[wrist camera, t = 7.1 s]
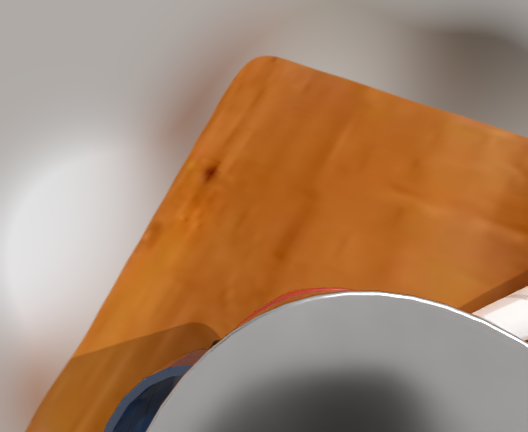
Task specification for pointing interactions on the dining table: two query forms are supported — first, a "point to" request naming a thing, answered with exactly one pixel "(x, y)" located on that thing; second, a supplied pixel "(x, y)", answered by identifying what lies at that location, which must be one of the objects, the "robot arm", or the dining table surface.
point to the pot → (150, 395)
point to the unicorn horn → (509, 313)
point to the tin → (354, 370)
